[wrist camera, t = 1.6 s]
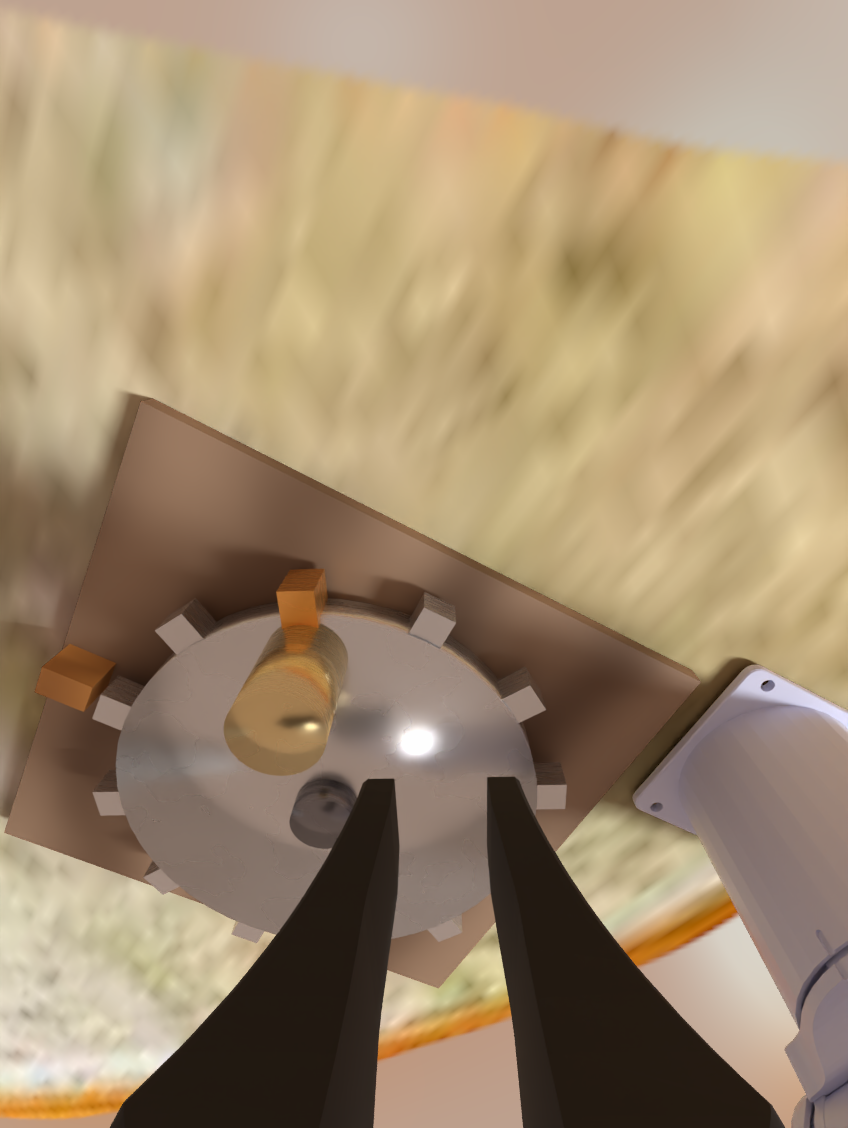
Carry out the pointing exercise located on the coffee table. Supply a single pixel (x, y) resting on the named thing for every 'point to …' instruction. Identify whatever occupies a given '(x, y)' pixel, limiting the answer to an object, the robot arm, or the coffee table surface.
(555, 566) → the coffee table surface
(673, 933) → the coffee table surface
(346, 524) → the walnut board
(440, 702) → the sprocket wheel
